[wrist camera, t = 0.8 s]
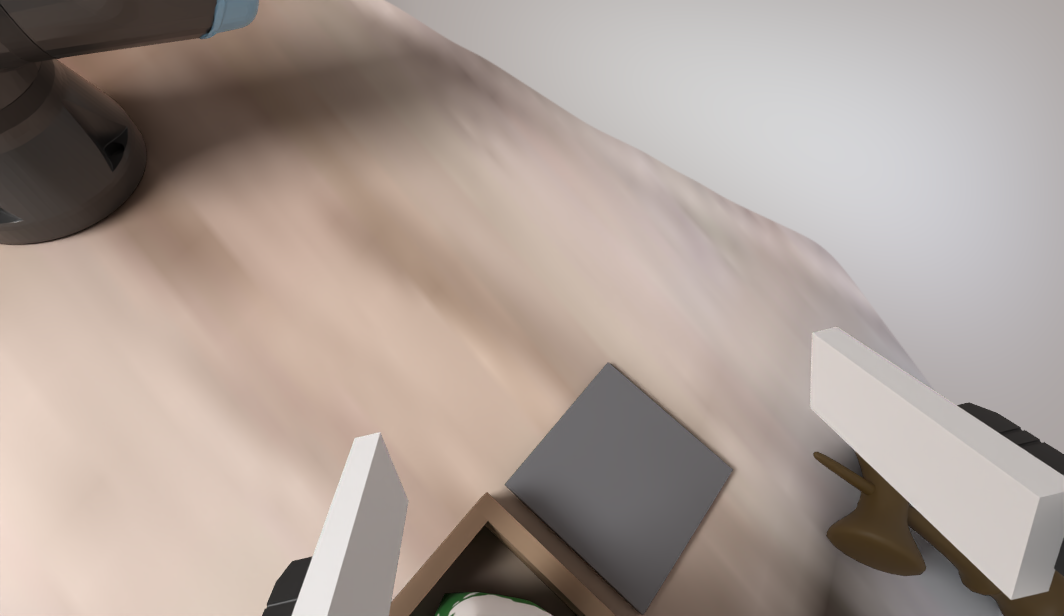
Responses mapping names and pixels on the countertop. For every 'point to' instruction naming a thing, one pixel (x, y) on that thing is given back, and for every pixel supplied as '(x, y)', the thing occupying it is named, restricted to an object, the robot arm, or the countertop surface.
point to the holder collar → (518, 541)
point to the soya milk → (486, 605)
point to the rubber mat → (621, 485)
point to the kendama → (890, 547)
